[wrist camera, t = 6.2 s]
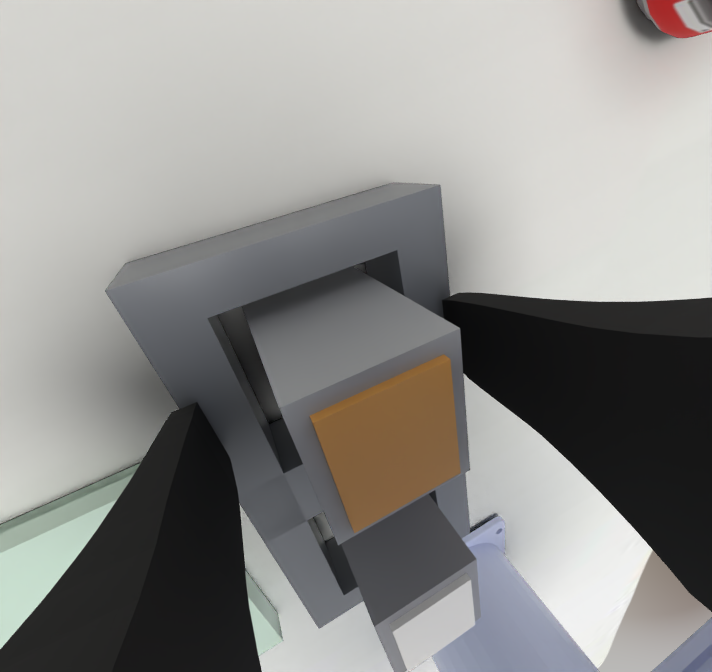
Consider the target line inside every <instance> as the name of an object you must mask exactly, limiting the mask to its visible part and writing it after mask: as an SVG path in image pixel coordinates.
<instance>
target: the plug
mask: <svg viewBox="0 0 712 672" xmlns="http://www.w3.org/2000/svg"><path fill="white" fill-rule="evenodd" d="M242 308H243V311H244V314H245V317H246V319H247V322H248V325H249V328H250V330H251V333H252V336H253V338H254V341H255V344H256V347H257V349H258V352H259V355H260V358H261V360H262V363H263V366H264V368H265V371H266V374H267V377H268V379H269V382H270V385H271V388H272V390H273V393H274V396H275V398H276V401H277V404H278V407H279V409H280V411H281V414H282V416H283V418H284V421H285V423H286V425H287V428H288V430H289V432H290V435H291V437H292V439H293V442H294V444H295V446H296V449H297V451H298V453H299V456H300V458H301V460H302V463H303V465H304V467H305V470H306V472H307V474H308V476H309V479H310V481H311V483H312V486H313V488H314V490H315V493H316V495H317V497H318V500H319V502H320V504H321V507H322V509H323V511H324V514H325V516H326V518H327V521H328V523H329V525H330V528H331V530H332V532H333V534H334V537H335V539H336V541H337V544H338V545H340V544H341V543H343V542H345V541H347V540H348V539H350V538H352V537H354V536H355V535H357V534H359V533H361V532H362V531H364V530H366V529H367V528H369V527H371V526H373V525H374V524H376V523H378V522H380V521H381V520H383V519H385V518H387V517H388V516H390V515H392V514H394V513H395V512H397V511H399V510H401V509H402V508H404V507H406V506H408V505H409V504H411V503H413V502H415V501H416V500H418V499H420V498H422V497H423V496H425V495H427V494H429V493H430V492H432V491H434V490H436V489H437V488H439V487H441V486H443V485H444V484H446V483H448V482H450V481H451V480H453V479H455V478H457V477H458V476H460V475H462V474H464V473H465V472H467V471H469V470H470V464H469V450H468V435H467V421H466V406H465V392H464V378H463V363H462V349H461V335H460V328H459V327H457V326H455V325H454V324H452V323H450V322H448V321H447V320H445V319H443V318H442V317H440V316H438V315H436V314H435V313H433V312H431V311H429V310H428V309H426V308H424V307H422V306H421V305H419V304H417V303H416V302H414V301H412V300H410V299H409V298H407V297H405V296H403V295H402V294H400V293H398V292H396V291H395V290H393V289H391V288H390V287H388V286H386V285H384V284H383V283H381V282H379V281H377V280H376V279H374V278H372V277H371V276H369V275H367V274H365V273H364V272H362V271H360V270H358V269H357V268H355V267H353V266H351V267H349V268H346V269H343V270H340V271H337V272H335V273H332V274H329V275H326V276H324V277H321V278H318V279H315V280H312V281H310V282H307V283H304V284H301V285H298V286H296V287H293V288H290V289H287V290H285V291H282V292H279V293H276V294H273V295H271V296H268V297H265V298H262V299H259V300H257V301H254V302H251V303H248V304H246V305H243V306H242Z"/></svg>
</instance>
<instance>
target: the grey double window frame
mask: <svg viewBox="0 0 712 672" xmlns="http://www.w3.org/2000/svg"><path fill="white" fill-rule="evenodd" d="M362 262H365V266H366V271H367V275H369V276H371V277H372V278H374V279H376V280H377V281H379V282H381V283H383V284H384V285H386V286H388V287H390V288H391V289H393V290H395V291H396V292H398V293H400V294H402V295H403V296H405V297H407V298H409V299H410V300H412V301H414V302H416V303H417V304H419V305H421V306H422V307H424V308H426V309H428V310H429V311H431V312H433V313H435V314H436V315H438V316H440V317H442V318H443V319H444V315H443V305H442V300H443V299H445V298H448V297H450V291H449V279H448V268H447V256H446V245H445V233H444V221H443V210H442V198H441V187H440V185H435V184H412V183H390V184H387V185H384V186H380V187H377V188H374V189H371V190H367V191H364V192H361V193H357V194H354V195H351V196H347V197H344V198H341V199H337V200H334V201H331V202H328V203H324V204H321V205H318V206H314V207H311V208H308V209H304V210H301V211H298V212H294V213H291V214H288V215H285V216H281V217H278V218H275V219H271V220H268V221H265V222H261V223H258V224H255V225H251V226H248V227H245V228H242V229H238V230H235V231H232V232H228V233H225V234H222V235H218V236H215V237H212V238H208V239H205V240H202V241H199V242H195V243H192V244H189V245H185V246H182V247H179V248H175V249H172V250H169V251H165V252H162V253H159V254H156V255H152V256H149V257H146V258H142V259H139V260H136V261H132V262H129V263H126V264H125V265H124V266H123V267H122V269H121V270H120V271H119V273H118V274H117V275H116V277H115V278H114V279H113V281H112V282H111V283H110V285H109V286H108V287H107V289H106V290H105V292H106V293H107V295H108V297H109V298H110V300H111V301H112V303H113V304H114V306H115V308H116V309H117V311H118V312H119V314H120V315H121V317H122V319H123V320H124V322H125V323H126V325H127V326H128V328H129V330H130V331H131V333H132V334H133V336H134V338H135V339H136V341H137V342H138V344H139V345H140V347H141V349H142V350H143V352H144V353H145V355H146V356H147V358H148V360H149V361H150V363H151V364H152V366H153V368H154V369H155V371H156V372H157V374H158V375H159V377H160V379H161V380H162V382H163V383H164V385H165V386H166V388H167V390H168V391H169V393H170V394H171V396H172V398H173V399H174V401H175V402H176V404H177V405H178V407H179V409H181V408H184V407H186V406H188V405H191V404H193V403H196V402H197V403H198V404H199V406H200V408H201V409H202V411H203V413H204V414H205V416H206V418H207V419H208V421H209V423H210V425H211V426H212V428H213V430H214V431H215V433H216V435H217V436H218V438H219V440H220V441H221V443H222V445H223V446H224V448H225V450H226V452H227V453H228V455H229V457H230V459H231V463H232V467H233V472H234V476H235V480H236V485H237V490H238V496H239V503H240V505H241V506H242V508H243V510H244V511H245V513H246V514H247V516H248V517H249V519H250V521H251V522H252V524H253V525H254V527H255V529H256V530H257V532H258V533H259V535H260V536H261V538H262V540H263V541H264V543H265V544H266V546H267V547H268V549H269V551H270V552H271V554H272V555H273V557H274V558H275V560H276V562H277V563H278V565H279V566H280V568H281V570H282V571H283V573H284V574H285V576H286V577H287V579H288V581H289V582H290V584H291V585H292V587H293V588H294V590H295V592H296V593H297V595H298V596H299V598H300V600H301V601H302V603H303V604H304V606H305V607H306V609H307V611H308V612H309V614H310V615H311V617H312V618H313V620H314V622H315V623H316V625H317V626H318V628H321V627H323V626H324V625H326V624H327V623H329V622H330V621H332V620H334V619H335V618H337V617H338V616H340V615H341V614H343V613H345V612H346V611H348V610H349V609H351V608H353V607H354V606H356V605H357V604H359V603H360V602H362V601H364V600H363V597H362V595H361V592H360V590H359V587H358V585H357V582H356V580H355V577H354V575H353V572H352V570H351V567H350V565H349V562H348V560H347V557H346V555H345V552H344V550H343V547H342V545H341V544H340V545H338V544H337V541H336V539H335V537H334V538H333V539H331V540H329V541H327V542H326V543H325V542H324V540H323V538H322V536H321V533H320V531H319V529H318V527H317V525H316V523H315V521H314V519H313V517H314V516H316V515H318V514H320V513H322V512H324V511H323V509H322V507H321V504H320V502H319V500H318V497H317V495H316V493H315V490H314V488H313V486H312V483H311V481H310V479H309V476H308V474H307V472H306V470H305V467H304V465H303V463H302V460H301V458H300V456H299V453H298V451H297V449H296V446H295V444H294V442H293V439H292V437H291V435H290V432H289V430H288V428H287V425H286V423H285V421H284V418H282V419H280V420H277V421H275V422H273V423H271V424H268V422H267V419H266V417H265V415H264V413H263V411H262V409H261V407H260V405H259V403H258V400H257V398H256V396H255V394H254V392H253V390H252V388H251V386H250V384H249V381H248V379H247V377H246V375H245V373H244V371H243V369H242V367H241V365H240V362H239V360H238V358H237V356H236V354H235V352H234V350H233V348H232V345H231V343H230V341H229V339H228V337H227V335H226V333H225V331H224V329H223V326H222V324H221V322H220V320H219V318H218V316H217V315H218V314H221V313H223V312H226V311H229V310H232V309H234V308H237V307H240V306H243V305H246V304H248V303H251V302H254V301H257V300H259V299H262V298H265V297H268V296H271V295H273V294H276V293H279V292H282V291H285V290H287V289H290V288H293V287H296V286H298V285H301V284H304V283H307V282H310V281H312V280H315V279H318V278H321V277H324V276H326V275H329V274H332V273H335V272H337V271H340V270H343V269H346V268H349V267H351V266H354V265H357V264H360V263H362ZM429 495H430V496H431V498H432V499H433V501H434V502H435V503H436V505H437V506H438V507H439V509H440V510H441V511H442V513H443V514H444V515H445V517H446V518H447V520H448V521H449V522H450V524H451V525H452V526H453V528H454V529H455V530H456V532H457V533H458V534H459V536H460V537H461V539H462V538H463V537H465V536H466V535H468V534H469V533H470V523H469V511H468V500H467V488H466V477H465V473H464V474H462V475H460V476H458V477H457V478H455V479H453V480H451V481H450V482H448V483H446V484H444V485H443V486H441V487H439V488H437V489H436V490H434V491H432V492H430V493H429Z"/></svg>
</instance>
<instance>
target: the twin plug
mask: <svg viewBox="0 0 712 672" xmlns="http://www.w3.org/2000/svg"><path fill="white" fill-rule="evenodd" d="M341 545H342V547H343V550H344V552H345V555H346V557H347V560H348V562H349V565H350V567H351V570H352V572H353V575H354V577H355V580H356V582H357V585H358V587H359V590H360V592H361V595H362V597H363V600H364V602H365V605H366V607H367V610H368V612H369V615H370V617H371V620H372V622H373V625H374V627H375V629H376V632H377V634H378V636H379V639H380V641H381V643H382V645H383V648H384V650H385V652H386V654H387V657H388V659H389V661H390V663H391V666H392V668H393V670H394V672H405V671H406V670H407V671H408V672H410V671H412V670H413V669H415V668H416V667H417V666H419V665H420V664H422V663H423V662H424V661H426V660H427V659H429V658H430V657H431V656H433V655H434V654H436V653H437V652H438V651H440V650H441V649H442V648H444V647H445V646H447V645H448V644H449V643H451V642H452V641H454V640H455V639H456V638H458V637H459V636H461V635H462V634H463V633H465V632H466V631H468V630H469V629H470V628H472V627H473V626H474V625H475V621H476V620H478V619H479V618H480V617H481V610H480V597H479V584H478V571H477V559H476V558H475V556H474V555H473V553H472V552H471V551H470V549H469V548H468V547H467V545H466V544H465V543H464V541H463V540H462V539H461V537H460V536H459V534H458V533H457V532H456V530H455V529H454V528H453V526H452V525H451V524H450V522H449V521H448V520H447V518H446V517H445V515H444V514H443V513H442V511H441V510H440V509H439V507H438V506H437V505H436V503H435V502H434V501H433V499H432V498H431V496H430V495H429V494H427V495H425V496H423V497H422V498H420V499H418V500H416V501H415V502H413V503H411V504H409V505H408V506H406V507H404V508H402V509H401V510H399V511H397V512H395V513H394V514H392V515H390V516H388V517H387V518H385V519H383V520H381V521H380V522H378V523H376V524H374V525H373V526H371V527H369V528H367V529H366V530H364V531H362V532H361V533H359V534H357V535H355V536H354V537H352V538H350V539H348V540H347V541H345V542H343V543H341Z"/></svg>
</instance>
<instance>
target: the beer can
mask: <svg viewBox="0 0 712 672" xmlns="http://www.w3.org/2000/svg"><path fill="white" fill-rule="evenodd" d="M636 1H637V4H638V6H639V7H640V9H641V10H642V12H643V13H644V14H645V16H646V17H647V19H650V20H652V21H653V23H654V24H655V26H656V27H657V28H658V29H659V30H660V31H662V32H664V33H667V34H669V35H672V36H674V37H677V38H688V37H693V36H697V35H701V34H704V33H708V32H712V0H636Z"/></svg>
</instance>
